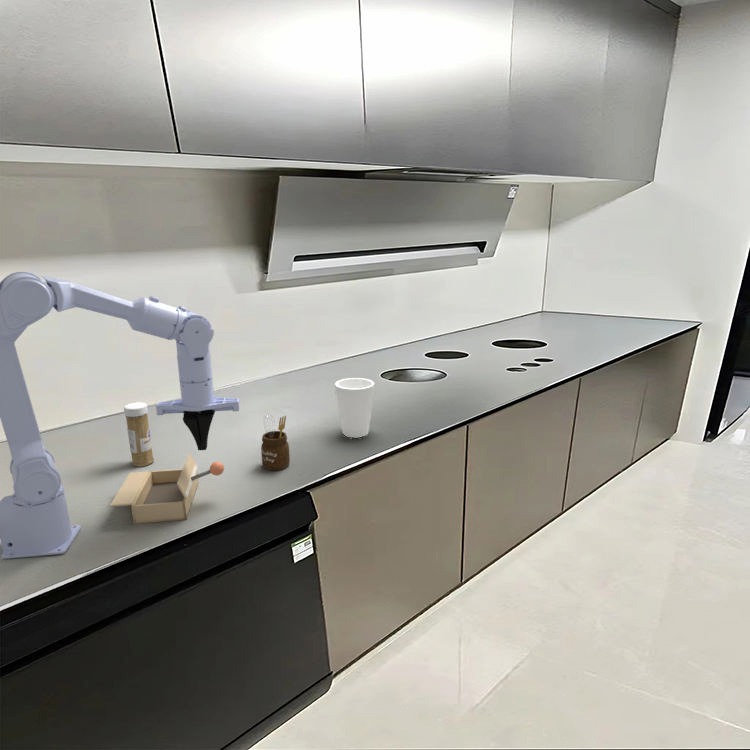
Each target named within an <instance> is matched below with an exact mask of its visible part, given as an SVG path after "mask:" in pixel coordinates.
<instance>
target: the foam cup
mask: <svg viewBox="0 0 750 750" xmlns="http://www.w3.org/2000/svg"><path fill="white" fill-rule="evenodd" d="M375 386H376V385H375V382H374V381H373V380H371V379H368V378H361V377H356V378H355V377H350V378H349V377H348V378H342V379H340V380H336V382H335V383H334V394H335V395H336V402H337V407H338V414H339V420H340V426H341V427H340V428H341V431H342V435H343V434H344V435H345V436H347V437H362V436H365V435H367V434H368V435H369V431H370V424H371V418H372V417H371V416H372V409H373V402H374V394H375ZM344 435H343V436H344ZM368 435H367V436H368ZM345 436H344V437H345ZM347 437H346V438H347Z"/></svg>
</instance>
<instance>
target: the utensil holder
mask: <svg viewBox="0 0 750 750" xmlns="http://www.w3.org/2000/svg"><path fill="white" fill-rule="evenodd" d="M266 417H267V420H268V421H269V422H271V421H272V425H274V424H275V421H273V420H275V419H274V417H272V415H271V414H266V415H265V416H264V418H263V419H262V420H263V424H266V421H267V420H266ZM269 417H272V418H270V419H271V420H270V419H269ZM286 419H287V416H286V415H284V416H281V417H279V423H278V430H271V428H272V427H271V424H270V423H268V426H269V425H270V426H269V429H268V427H267V425H265V426H264V429H265V431H266V432H265V433H263V434H262V438H261V440H262V441H261V442H262V443H261V447H260V450H261V451H260V452H261V463H262V466H263V468H264V469H266V470H267V471H268V470H269V471H281V470H283V469H285V468H287V467H288V466H289V465H290V461H291V459H290V445H289V442H288V441H287V440H288V437H287V433H286V432H284V429H285V428H286V421H287V420H286Z"/></svg>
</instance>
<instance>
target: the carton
mask: <svg viewBox="0 0 750 750" xmlns="http://www.w3.org/2000/svg"><path fill="white" fill-rule="evenodd" d="M182 470H183V468H177V469H176V468H175V469H163V470H162V469H161V470H151V471H136V472H134V471H133V472H129V474H128V475H127V476H126V478H125V480H124V482H123V484H122V485H121V487H120V488H119V490H118V492H117V493H116V495H115V497H113V500H112V502H111V503H110V504H109V506H110V507H111V508H113V507H124V506H130V508H131V514H132V520H133V521H132V522H133V524H134V525H136V524H147V523H158V522H159V523H160V522H171V521H183V520H186V521H187V519H188V518H189V517H188V516H189V514H190V510H191V508H190V507H192V505H193V502H192V501H193V500H194V499H195V495H196V492H197V489H198V486H199V478H198V479H195V480H193V483H192V485H191V488H190V491H189V494H188V497H187V499H185V498H184V496H183V494H182V492H181V491H180V489H179V487H178V485H177V482H178V480H179V477H180V475H181V472H182ZM198 474H199V473H198V470H197V471H196V474H195V475H198ZM191 504H192V505H191ZM188 513H189V514H188Z"/></svg>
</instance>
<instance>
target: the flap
mask: <svg viewBox="0 0 750 750" xmlns="http://www.w3.org/2000/svg"><path fill="white" fill-rule="evenodd" d="M198 468H199V467H198V465H197V464H196V461H195V459H194V458H193V456H192V454H191V453H188V455H187V457H186V460H185V463H184V465H183V467H182V469H183V470H182V472H181V475H180V477H179V480H178V482H177V485H178V487H179V489H180V491H181V492H182V494H183V496H184V498H185V499H187V497H188V494H189V491H190V488H191V485H192V483H193V480H195V479H198V480H199V478H202V477H205V476H208V475H210V474H211V475H213V476H216V477H217V476H220V475H222V474H223V472H225V466H224V464H223V463H222V462H221V461H214V462H212V463H211V464H210V466H209V469H207V470H205V471H203V472H201V473H197V474H198V475H195V474H196V471H197V472H198Z"/></svg>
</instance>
